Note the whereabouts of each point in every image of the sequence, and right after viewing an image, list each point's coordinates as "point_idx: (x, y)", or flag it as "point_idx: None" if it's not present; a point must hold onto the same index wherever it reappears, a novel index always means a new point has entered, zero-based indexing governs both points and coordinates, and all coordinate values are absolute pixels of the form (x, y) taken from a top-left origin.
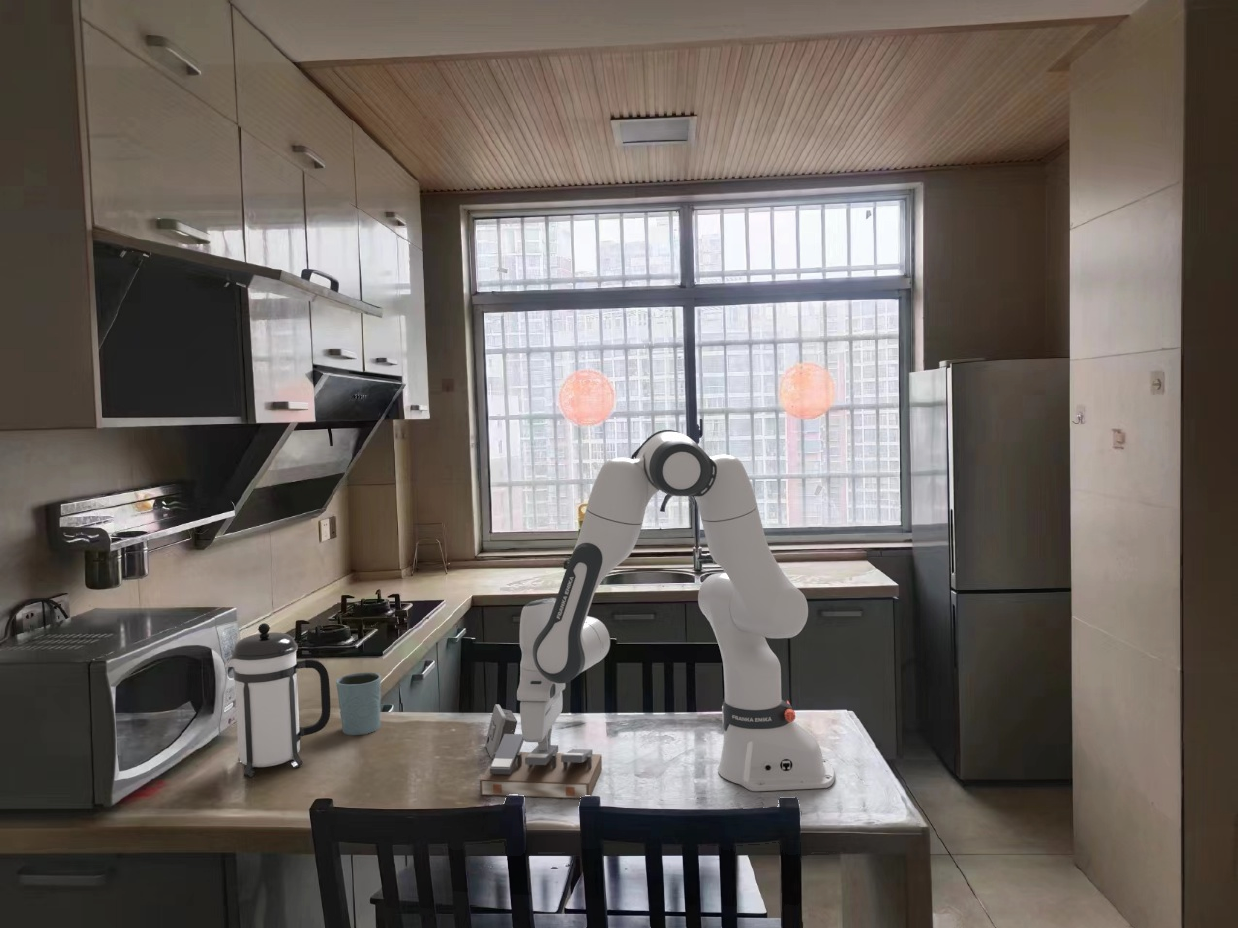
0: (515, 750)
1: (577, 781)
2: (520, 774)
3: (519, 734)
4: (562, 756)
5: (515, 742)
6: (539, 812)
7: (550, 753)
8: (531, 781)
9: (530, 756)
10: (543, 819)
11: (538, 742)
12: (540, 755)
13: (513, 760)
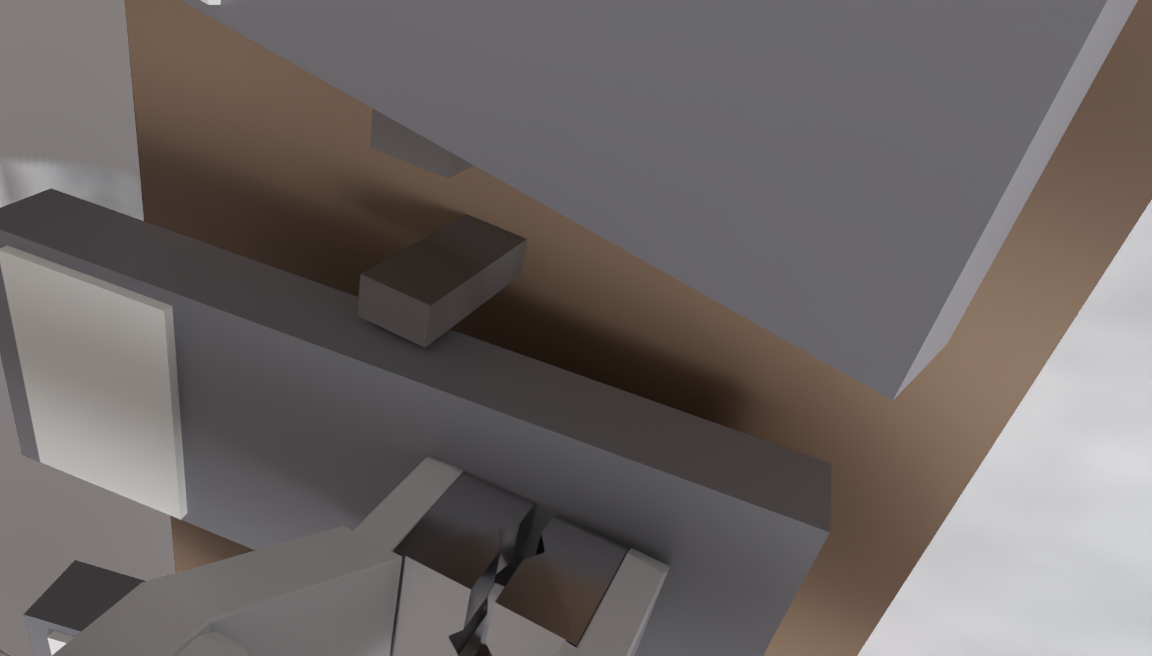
0: (387, 74)
1: (194, 544)
2: (269, 92)
3: (930, 281)
4: (38, 613)
5: (613, 102)
6: (73, 187)
7: (258, 549)
8: (143, 199)
9: (17, 299)
10: (8, 200)
11: (327, 536)
12: (95, 426)
13: (218, 17)
